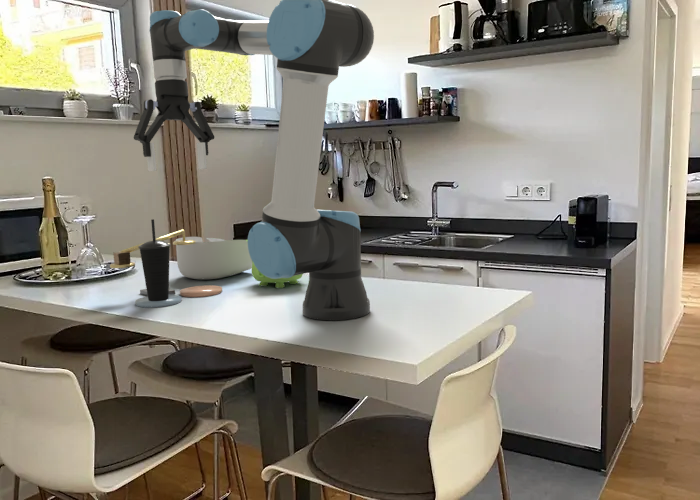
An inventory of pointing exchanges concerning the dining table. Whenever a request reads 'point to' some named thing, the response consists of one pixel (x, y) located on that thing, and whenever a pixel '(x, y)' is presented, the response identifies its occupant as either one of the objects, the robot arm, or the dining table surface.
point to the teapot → (265, 280)
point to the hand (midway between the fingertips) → (178, 170)
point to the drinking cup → (156, 267)
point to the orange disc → (200, 291)
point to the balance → (124, 255)
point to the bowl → (213, 258)
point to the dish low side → (150, 304)
